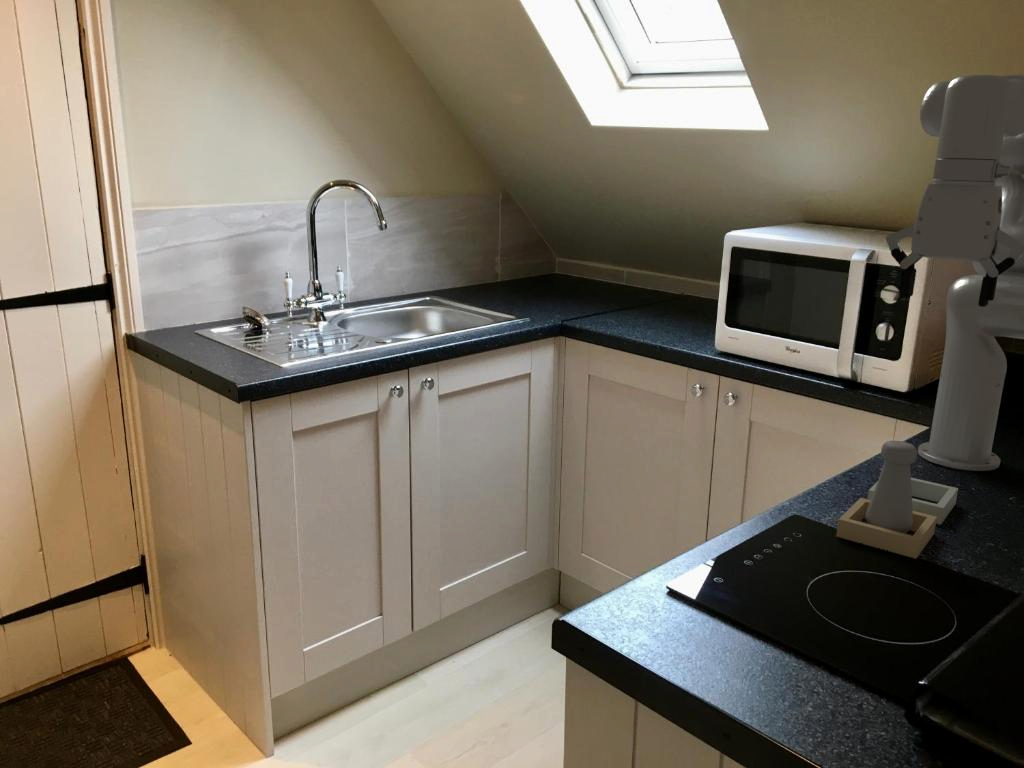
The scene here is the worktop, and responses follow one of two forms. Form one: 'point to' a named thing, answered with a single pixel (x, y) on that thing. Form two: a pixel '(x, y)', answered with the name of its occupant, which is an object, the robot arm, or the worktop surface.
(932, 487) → the sockets
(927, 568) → the worktop surface
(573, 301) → the worktop surface
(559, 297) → the worktop surface
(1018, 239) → the robot arm
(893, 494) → the salt shaker
